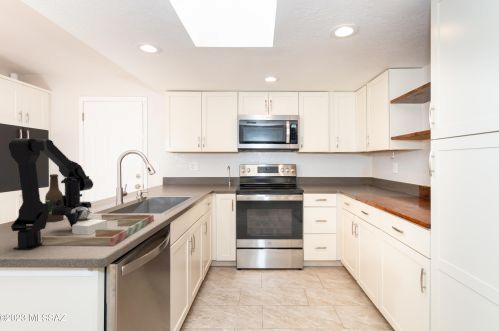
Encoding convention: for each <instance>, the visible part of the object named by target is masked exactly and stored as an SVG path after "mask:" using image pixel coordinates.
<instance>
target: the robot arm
mask: <svg viewBox="0 0 499 331" xmlns="http://www.w3.org/2000/svg"><path fill="white" fill-rule="evenodd" d="M8 149H9V152H10V153H9V154H10V156H11V157H12V159H13V160H14V161H15V162H16V163H17V166H18V168H17V169H18V174H19V175H18V176H19V181H20V188H21V197H22V204H21V205H20V207H19V209H18V216H17V217H16V219H15V220H14V222H13V223H11V225H10V227H11V231H12V232H17V246H14V247H13V249H14V250H31V249H35V248H37V247H39V246H43V245H42V235H41V234H42V230H44V229H46V226H47V223H48V222H47V219H48V214H49V211H48V204H47V203H45V202H44V203H43V201H41V197H40V196H41V195H40V189H39V188H40V187H39V178H38V172H37V165H36V164H37V163H36V162H37V161H38V159H39V157H40V156H41V152H42V153H43V154H44V155H45V156H46V157H47V158H48V159H49V160H50V161H52V163H54V164H55V165H56V166H57V168H58V171H59V173H60V174H61V175H62V177H63V179H62V180H61V181H60V183H61V184H64V194H63V195H62V199H60V200H56V199H52V200H50V201H49V206H50V207H53V209H52V210H51V215H64V216H65V217H66V219H67V221H68V223H69V225H70V227H71V228H72V225H74V224H78V221H79V220H80V219H79V217H80V216H81V214H82V212H83V211H84V210H81V209H80V208H82V207H86V208H89V209H90V208H92V203H91V202H90V201H81V197H83V193H81V192H83V191H89V190H91V189H92V188H93V187H94V182H93V180H92V179H91V178H90V176H89V175H87V174H86V172H85V171H84V169H83V167H82V165H80V164H79V163H77V162H75V161H73V160H71V159H69V158H68V156H66V155H65V154H64V153H63V152H62V150H60V149H59V148H58V147H57V146H56V145H55V144H54V142H53V140H52V139H48V138H45V139H44V138H41V139H35V138H14V139H12V140H11V141H10V142H9V143H8Z"/></svg>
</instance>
